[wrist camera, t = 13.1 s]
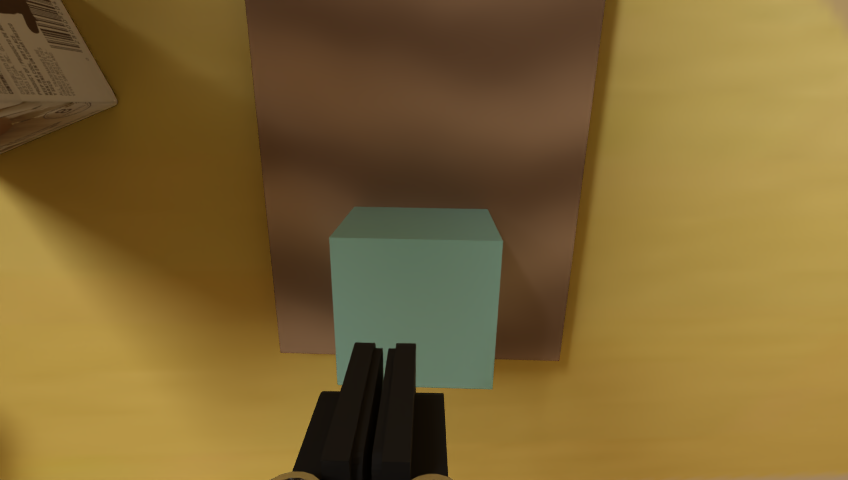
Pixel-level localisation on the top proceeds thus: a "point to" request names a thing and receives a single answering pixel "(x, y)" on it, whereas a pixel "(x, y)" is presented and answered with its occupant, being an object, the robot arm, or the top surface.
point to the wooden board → (425, 140)
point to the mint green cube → (419, 290)
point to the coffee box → (44, 72)
